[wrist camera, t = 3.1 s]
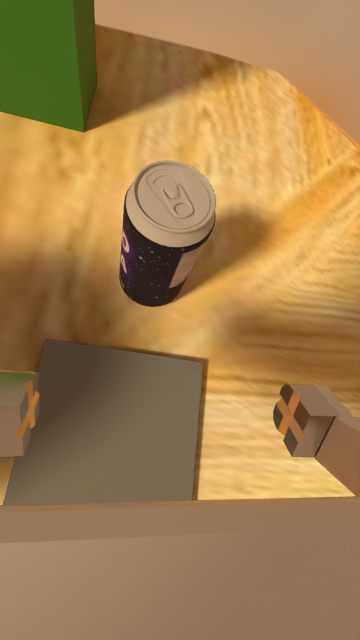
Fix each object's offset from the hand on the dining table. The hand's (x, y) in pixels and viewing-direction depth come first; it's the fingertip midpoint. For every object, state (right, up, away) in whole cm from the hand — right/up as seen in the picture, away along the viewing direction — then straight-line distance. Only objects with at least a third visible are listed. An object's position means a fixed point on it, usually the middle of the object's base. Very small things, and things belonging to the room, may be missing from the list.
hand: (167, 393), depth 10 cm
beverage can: (-2, +6, +19) cm, 20 cm away
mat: (-5, -6, +14) cm, 16 cm away
